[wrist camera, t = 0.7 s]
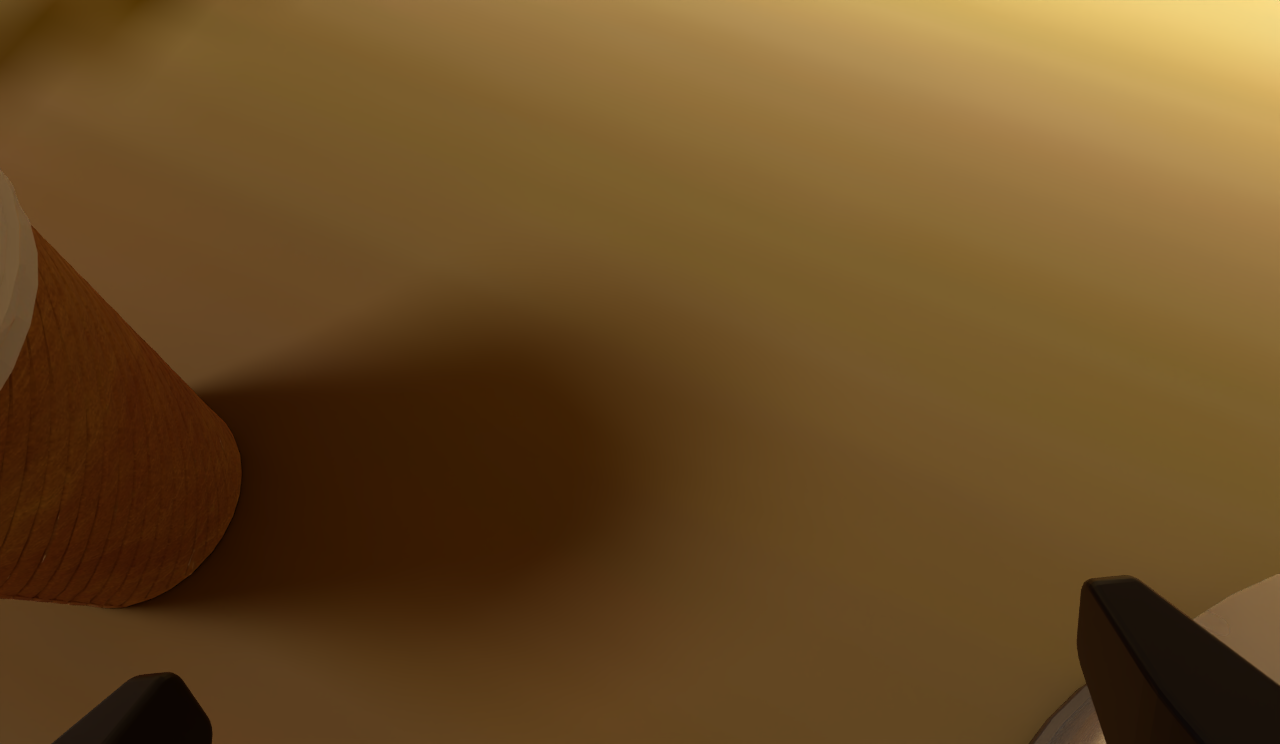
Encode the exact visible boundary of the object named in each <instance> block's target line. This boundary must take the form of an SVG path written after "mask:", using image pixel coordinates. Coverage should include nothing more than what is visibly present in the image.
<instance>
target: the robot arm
mask: <svg viewBox="0 0 1280 744" xmlns="http://www.w3.org/2000/svg"><path fill="white" fill-rule="evenodd" d="M1077 650H1078V657H1079V661H1080V665H1081V668H1082V671H1083V674H1084V677H1085V680H1086V683H1087V687H1088V690H1089V693H1090V696H1091V699H1092V702H1093V705H1094V708H1095V711H1096V714H1097V717H1098V720H1099V723H1100V726H1101V729H1102V732H1103V735H1104V738H1105V741H1106V744H1280V685H1279V684H1278V683H1276V682H1275V681H1274V680H1272V679H1271V678H1270V677H1268V676H1267V675H1266V674H1264V673H1263V672H1262V671H1260V670H1259V669H1258V668H1256V667H1255V666H1254V665H1252V664H1251V663H1250V662H1248V661H1247V660H1246V659H1244V658H1243V657H1242V656H1240V655H1239V654H1238V653H1236V652H1235V651H1234V650H1232V649H1231V648H1230V647H1228V646H1227V645H1226V644H1224V643H1223V642H1222V641H1220V640H1219V639H1218V638H1216V637H1215V636H1214V635H1212V634H1211V633H1210V632H1208V631H1207V630H1206V629H1204V628H1203V627H1202V626H1200V625H1199V624H1198V623H1196V622H1195V621H1194V620H1192V619H1191V618H1190V617H1188V616H1187V615H1186V614H1184V613H1183V612H1182V611H1180V610H1179V609H1178V608H1176V607H1175V606H1174V605H1172V604H1171V603H1170V602H1169V601H1167V600H1166V599H1165V598H1163V597H1162V596H1161V595H1159V594H1158V593H1157V592H1155V591H1154V590H1153V589H1151V588H1150V587H1149V586H1147V585H1146V584H1145V583H1143V582H1142V581H1140V580H1139V579H1137V578H1135V577H1132V576H1129V575H1121V576H1111V577H1101V578H1092V579H1089V580H1087V581H1086V582H1084V584H1083V586H1082V589H1081V597H1080V608H1079V619H1078V631H1077ZM52 744H212V726H211V723H210V720H209V718H208V716H207V715H206V713H205V712H204V710H203V709H202V707H201V706H200V705H199V703H198V702H197V700H196V699H195V697H194V696H193V694H192V693H191V691H190V690H189V689H188V687H187V686H186V684H185V683H184V681H183V680H182V679H181V678H180V677H179V676H178V675H176V674H174V673H171V672H164V673H154V674H144V675H139V676H136V677H133V678H131V679H129V680H128V681H127V682H125V683H124V684H123V685H122V686H120V687H119V688H118V689H117V690H116V691H114V692H113V693H112V694H111V695H110V696H108V697H107V698H106V699H105V700H104V701H102V702H101V703H100V704H99V705H98V706H96V707H95V708H94V709H93V710H92V711H90V712H89V713H88V714H87V715H86V716H84V717H83V718H82V719H81V720H80V721H78V722H77V723H76V724H75V725H73V726H72V727H71V728H70V729H69V730H67V731H66V732H65V733H64V734H63V735H61V736H60V737H59V738H58V739H57V740H55V741H54V742H53V743H52Z"/></svg>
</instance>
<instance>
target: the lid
mask: <svg viewBox="0 0 1280 744" xmlns="http://www.w3.org/2000/svg"><path fill="white" fill-rule="evenodd" d="M1193 620H1194V621H1195V622H1196V623H1198V624H1199V625H1200V626H1202V627H1203V628H1204V629H1206V630H1207V631H1208V632H1210V633H1211V634H1212V635H1214V636H1215V637H1216V638H1218V639H1219V640H1220V641H1222V642H1223V643H1224V644H1226V645H1227V646H1228V647H1230V648H1231V649H1232V650H1234V651H1235V652H1236V653H1238V654H1239V655H1240V656H1242V657H1243V658H1244V659H1246V660H1247V661H1248V662H1250V663H1251V664H1252V665H1254V666H1255V667H1256V668H1258V669H1259V670H1260V671H1262V672H1263V673H1264V674H1266V675H1267V676H1268V677H1270V678H1271V679H1272V680H1274V681H1275V682H1276V683H1278V684H1279V685H1280V574H1277V575H1275V576H1272V577H1270V578H1268V579H1266V580H1264V581H1261V582H1259V583H1257V584H1255V585H1252V586H1250V587H1248V588H1246V589H1243V590H1241V591H1239V592H1237V593H1234V594H1232V595H1230V596H1229V597H1227V598H1226V599H1224V600H1223V601H1221V602H1219V603H1218V604H1216V605H1215V606H1213V607H1212V608H1210V609H1209V610H1207V611H1206V612H1204V613H1203V614H1201V615H1199V616H1198V617H1196V618H1195V619H1193Z"/></svg>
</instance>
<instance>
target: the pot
mask: <svg viewBox="0 0 1280 744" xmlns="http://www.w3.org/2000/svg"><path fill="white" fill-rule="evenodd" d="M1029 744H1106V741H1105V738H1104V735H1103V732H1102V729H1101V726H1100V723H1099V720H1098V717H1097V714H1096V711H1095V708H1094V705H1093V702H1092V699H1091V696H1090V693H1089V690H1088V687H1087V683H1086V684H1085V685H1083V686H1082V687H1080V688H1079V689H1078V690H1076V691H1075V692H1074V693H1073V694H1072V695H1071V696H1070V697H1069V698H1068V699H1067V700H1066V701H1065V702H1064V703H1063V704H1062V705H1061V706H1060V707H1059V708H1058V709H1057V710H1056V711H1055V712H1054V713H1053V714H1052V715H1051V716H1050V717H1049V718H1048V719H1047V720H1046V721H1045V723H1044V724H1043V725H1042V727H1041V728H1040V730H1039V731H1038V732H1037V734H1036V735H1035V736H1034V738H1033V739H1032V740H1031V742H1030V743H1029Z"/></svg>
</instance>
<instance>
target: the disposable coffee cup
mask: <svg viewBox="0 0 1280 744" xmlns="http://www.w3.org/2000/svg"><path fill="white" fill-rule="evenodd" d="M241 477H242V470H241V458H240V453H239V450H238V447H237V445H236V442H235V439H234V436H233V434H232V432H231V431H230V429H229V428H228V426H227V424H226V423H225V422H224V421H223V420H222V419H221V418H220V417H219V416H218V415H217V414H216V413H215V412H214V411H213V410H212V409H211V408H210V407H209V406H208V405H207V404H206V403H205V402H204V401H203V400H202V399H201V398H200V397H198V396H197V394H196V393H195V392H194V391H193V390H192V389H191V388H190V387H189V386H188V385H187V384H186V383H185V382H184V381H183V380H182V379H181V378H180V377H179V376H178V375H177V374H176V373H175V372H174V371H173V370H172V369H171V368H170V366H169V365H168V364H167V363H166V362H164V361H163V359H162V358H161V357H160V356H159V355H158V354H157V353H156V352H155V351H154V350H153V349H152V348H151V347H150V346H149V345H148V344H147V343H146V342H145V341H144V340H143V339H142V338H141V337H140V336H139V335H138V334H137V333H136V332H135V331H134V330H133V329H132V328H131V327H130V326H129V325H128V324H127V323H126V322H125V321H124V320H123V319H122V318H121V316H120V315H119V314H118V313H117V312H116V311H115V310H114V309H113V308H112V307H111V306H110V305H109V304H108V303H107V302H106V301H105V300H104V299H103V298H102V297H101V296H100V295H99V294H98V293H97V292H96V291H95V290H94V289H93V288H92V287H91V286H90V285H89V283H88V282H87V281H86V280H85V279H83V278H82V277H81V276H80V275H79V274H78V273H77V272H76V271H75V269H74V268H73V267H72V266H71V265H70V264H69V263H68V262H67V261H66V260H65V259H64V258H63V257H61V256H60V254H59V253H58V252H57V251H56V250H55V249H54V248H53V247H52V246H51V245H50V244H49V243H48V242H47V241H46V240H45V239H44V238H43V237H42V236H41V235H40V234H39V233H38V231H37V230H36V229H35V228H33V227H32V226H31V224H30V221H29V219H28V217H27V216H26V214H25V212H24V211H23V209H22V208H21V206H20V204H19V202H18V199H17V196H16V193H15V190H14V187H13V184H12V183H11V182H10V180H9V179H8V178H7V177H6V175H5V174H4V173H3V172H2V171H1V169H0V599H18V600H29V601H30V600H31V601H37V602H52V603H59V604H69V605H86V606H92V607H101V608H118V607H127V606H130V605H133V604H136V603H140V602H143V601H146V600H149V599H152V598H154V597H156V596H158V595H160V594H162V593H164V592H166V591H168V590H170V589H172V588H173V587H174V586H176V585H177V584H178V583H180V582H181V581H182V580H184V579H185V578H187V577H188V576H189V575H191V574H192V573H193V572H194V571H195V570H196V569H197V567H198V566H199V565H200V564H201V563H202V562H203V561H204V560H205V559H206V558H207V557H208V556H209V555H210V554H211V552H212V551H213V550H214V548H215V547H216V545H217V544H218V543H219V541H220V540H221V538H222V537H223V535H224V533H225V531H226V529H227V527H228V525H229V523H230V521H231V519H232V517H233V515H234V511H235V508H236V505H237V501H238V498H239V495H240V486H241Z"/></svg>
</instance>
